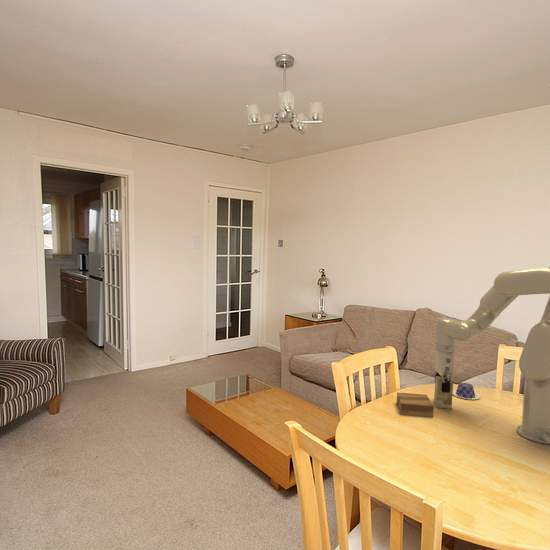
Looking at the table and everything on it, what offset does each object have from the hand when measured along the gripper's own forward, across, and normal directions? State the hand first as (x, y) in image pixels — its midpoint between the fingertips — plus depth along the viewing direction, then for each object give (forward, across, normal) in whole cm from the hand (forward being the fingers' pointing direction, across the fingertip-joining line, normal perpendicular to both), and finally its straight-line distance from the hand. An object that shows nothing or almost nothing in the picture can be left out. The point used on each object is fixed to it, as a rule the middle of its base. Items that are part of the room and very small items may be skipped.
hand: (442, 387), depth 158 cm
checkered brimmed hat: (+8, +14, -15) cm, 22 cm away
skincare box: (+8, -1, -1) cm, 8 cm away
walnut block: (+8, -7, +12) cm, 16 cm away
